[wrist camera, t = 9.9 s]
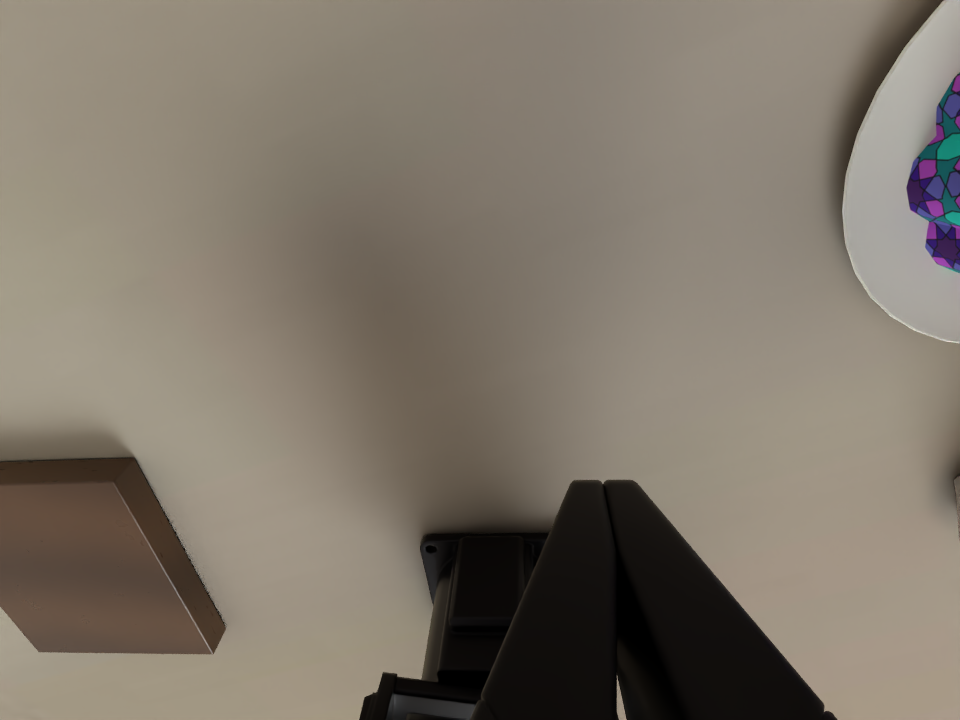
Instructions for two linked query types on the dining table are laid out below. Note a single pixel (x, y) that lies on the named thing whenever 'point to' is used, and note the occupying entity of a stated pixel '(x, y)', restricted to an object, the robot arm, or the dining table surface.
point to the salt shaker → (958, 499)
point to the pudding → (911, 184)
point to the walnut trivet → (97, 562)
